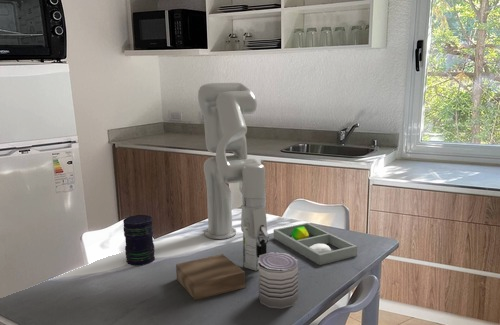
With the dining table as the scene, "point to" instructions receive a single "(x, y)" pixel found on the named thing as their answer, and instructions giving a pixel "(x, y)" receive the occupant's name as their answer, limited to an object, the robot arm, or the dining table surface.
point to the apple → (300, 233)
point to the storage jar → (139, 240)
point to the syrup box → (250, 250)
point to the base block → (210, 276)
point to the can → (278, 280)
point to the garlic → (320, 248)
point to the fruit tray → (320, 238)
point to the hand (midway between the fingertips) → (255, 251)
